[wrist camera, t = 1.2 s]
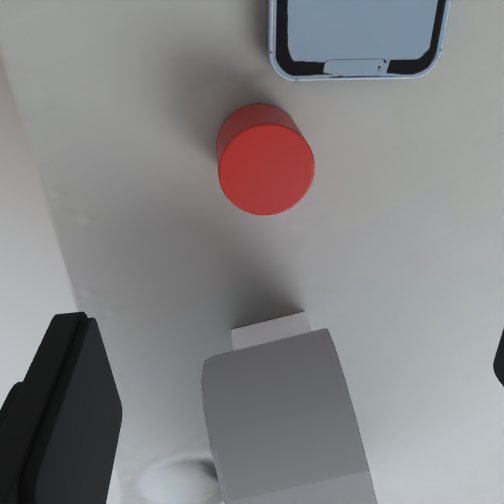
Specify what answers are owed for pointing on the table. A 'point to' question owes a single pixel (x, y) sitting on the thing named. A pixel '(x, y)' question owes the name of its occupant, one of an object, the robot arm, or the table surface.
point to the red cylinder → (263, 160)
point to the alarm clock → (283, 419)
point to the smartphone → (355, 38)
